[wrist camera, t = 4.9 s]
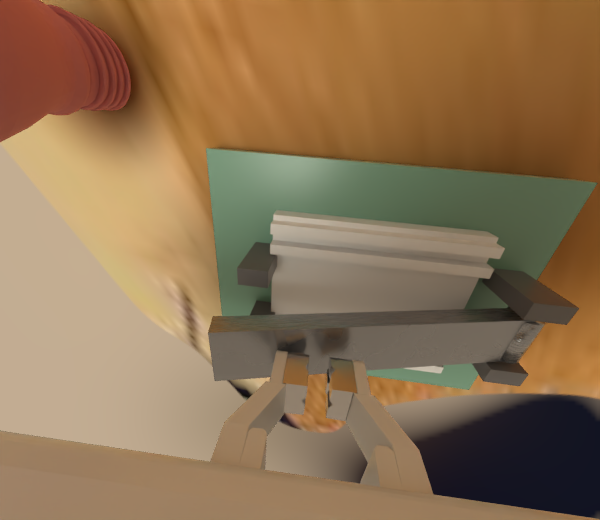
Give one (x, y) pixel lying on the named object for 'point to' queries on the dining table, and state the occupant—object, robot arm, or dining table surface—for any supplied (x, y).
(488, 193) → the heat sink board
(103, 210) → the dining table surface
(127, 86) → the light bulb
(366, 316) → the steel strap
